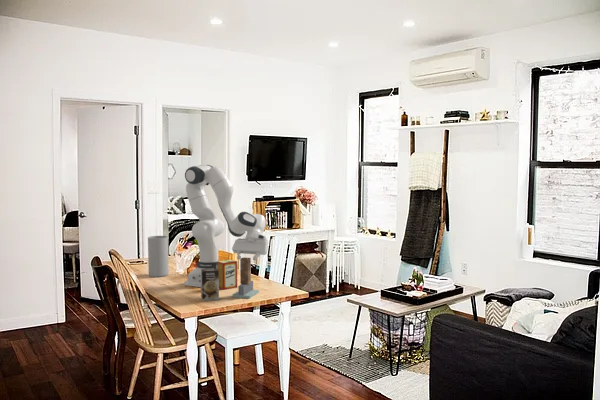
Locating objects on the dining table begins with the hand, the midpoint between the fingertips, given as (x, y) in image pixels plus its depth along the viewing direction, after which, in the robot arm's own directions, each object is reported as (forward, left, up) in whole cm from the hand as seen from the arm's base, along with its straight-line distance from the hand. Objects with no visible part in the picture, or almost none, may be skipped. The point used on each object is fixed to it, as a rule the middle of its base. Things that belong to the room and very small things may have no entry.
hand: (246, 259), depth 305 cm
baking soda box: (-17, +11, -20) cm, 28 cm away
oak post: (0, -2, -13) cm, 13 cm away
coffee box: (-15, -16, -20) cm, 29 cm away
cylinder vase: (-74, +30, -20) cm, 82 cm away
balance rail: (0, -2, -20) cm, 20 cm away
